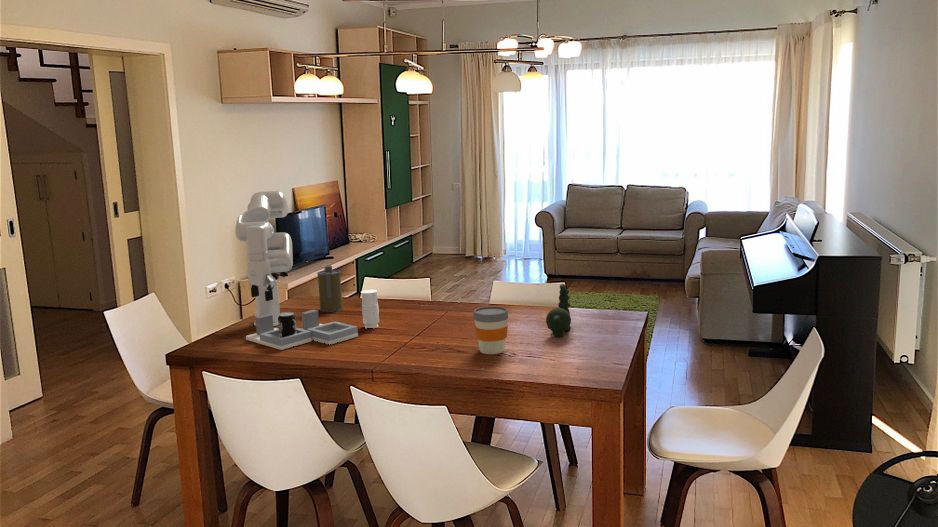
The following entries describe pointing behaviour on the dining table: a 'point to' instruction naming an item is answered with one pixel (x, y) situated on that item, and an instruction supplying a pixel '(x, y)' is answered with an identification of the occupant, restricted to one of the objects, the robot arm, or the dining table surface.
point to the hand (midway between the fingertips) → (262, 298)
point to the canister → (330, 290)
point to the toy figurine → (560, 315)
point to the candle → (370, 308)
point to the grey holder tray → (276, 334)
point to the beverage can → (286, 324)
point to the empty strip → (327, 329)
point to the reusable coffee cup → (491, 328)
